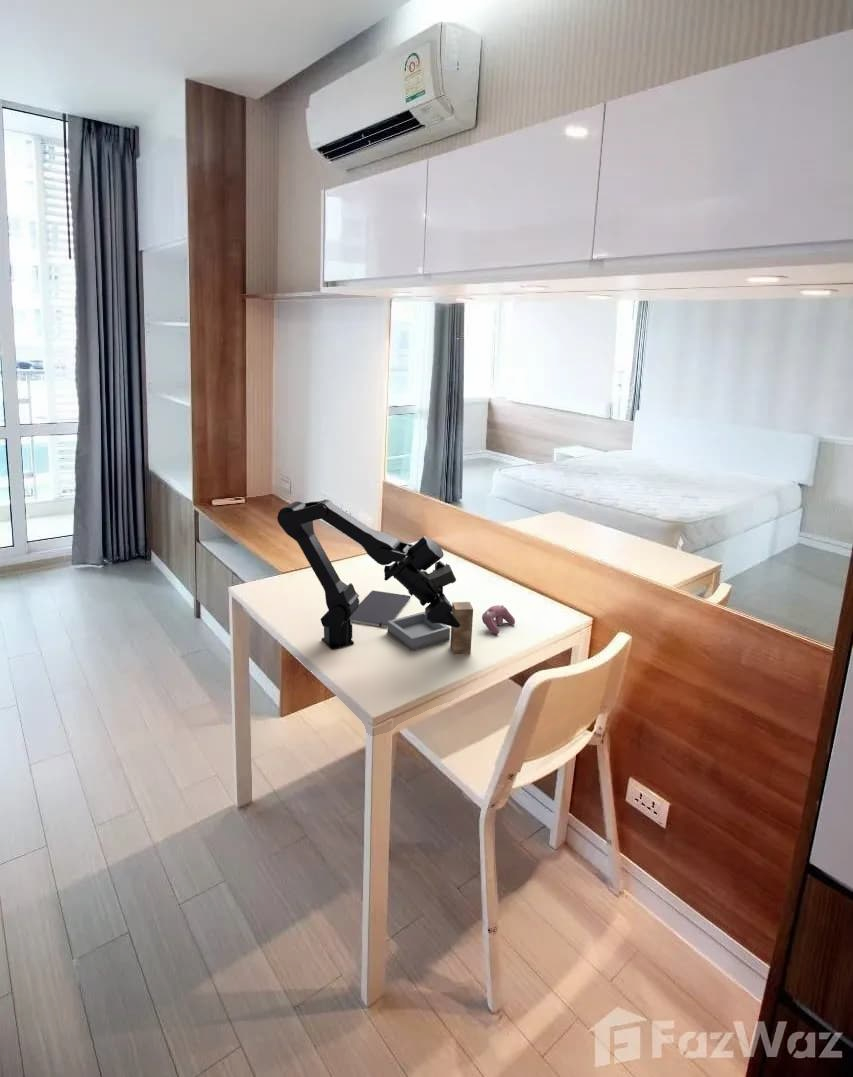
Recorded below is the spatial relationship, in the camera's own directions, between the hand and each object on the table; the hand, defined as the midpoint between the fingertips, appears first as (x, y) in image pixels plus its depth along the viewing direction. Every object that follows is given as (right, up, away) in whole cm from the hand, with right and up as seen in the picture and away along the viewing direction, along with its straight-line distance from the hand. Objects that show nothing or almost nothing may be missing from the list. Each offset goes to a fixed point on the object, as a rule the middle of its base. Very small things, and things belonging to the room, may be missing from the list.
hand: (455, 618), depth 165 cm
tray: (-10, -6, +10) cm, 15 cm away
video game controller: (+12, -5, +17) cm, 21 cm away
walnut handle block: (+1, -9, +3) cm, 9 cm away
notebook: (-21, -1, +25) cm, 33 cm away
